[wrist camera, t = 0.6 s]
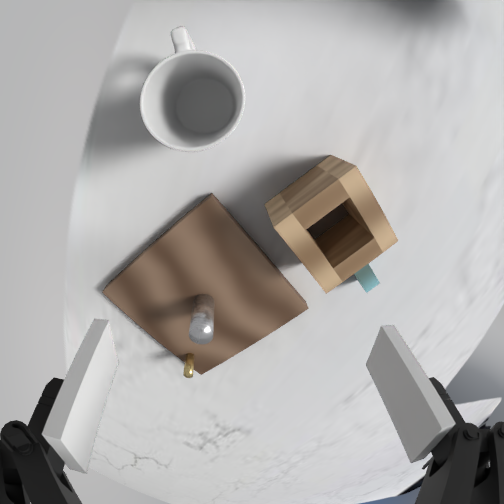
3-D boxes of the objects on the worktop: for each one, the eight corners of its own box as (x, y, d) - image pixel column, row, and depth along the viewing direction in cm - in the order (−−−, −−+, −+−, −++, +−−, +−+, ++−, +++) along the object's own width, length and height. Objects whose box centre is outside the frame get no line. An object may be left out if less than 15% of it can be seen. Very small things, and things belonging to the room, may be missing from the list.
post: (204, 289, 35) (201, 322, 30) (218, 303, 36) (218, 336, 31) (189, 301, 36) (183, 334, 30) (203, 314, 37) (200, 347, 31)
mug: (244, 130, 29) (254, 139, 19) (180, 145, 30) (152, 163, 19) (225, 39, 25) (224, -2, 14) (159, 55, 25) (122, 25, 14)
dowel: (190, 351, 39) (188, 370, 36) (196, 356, 40) (194, 375, 36) (183, 355, 39) (181, 374, 36) (190, 360, 40) (188, 379, 37)
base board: (211, 192, 32) (211, 196, 31) (305, 301, 39) (308, 308, 37) (106, 286, 36) (102, 292, 34) (201, 367, 42) (201, 374, 41)
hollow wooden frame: (264, 204, 33) (273, 227, 27) (331, 154, 31) (356, 166, 25) (335, 295, 39) (353, 329, 32) (391, 255, 37) (418, 282, 31)
